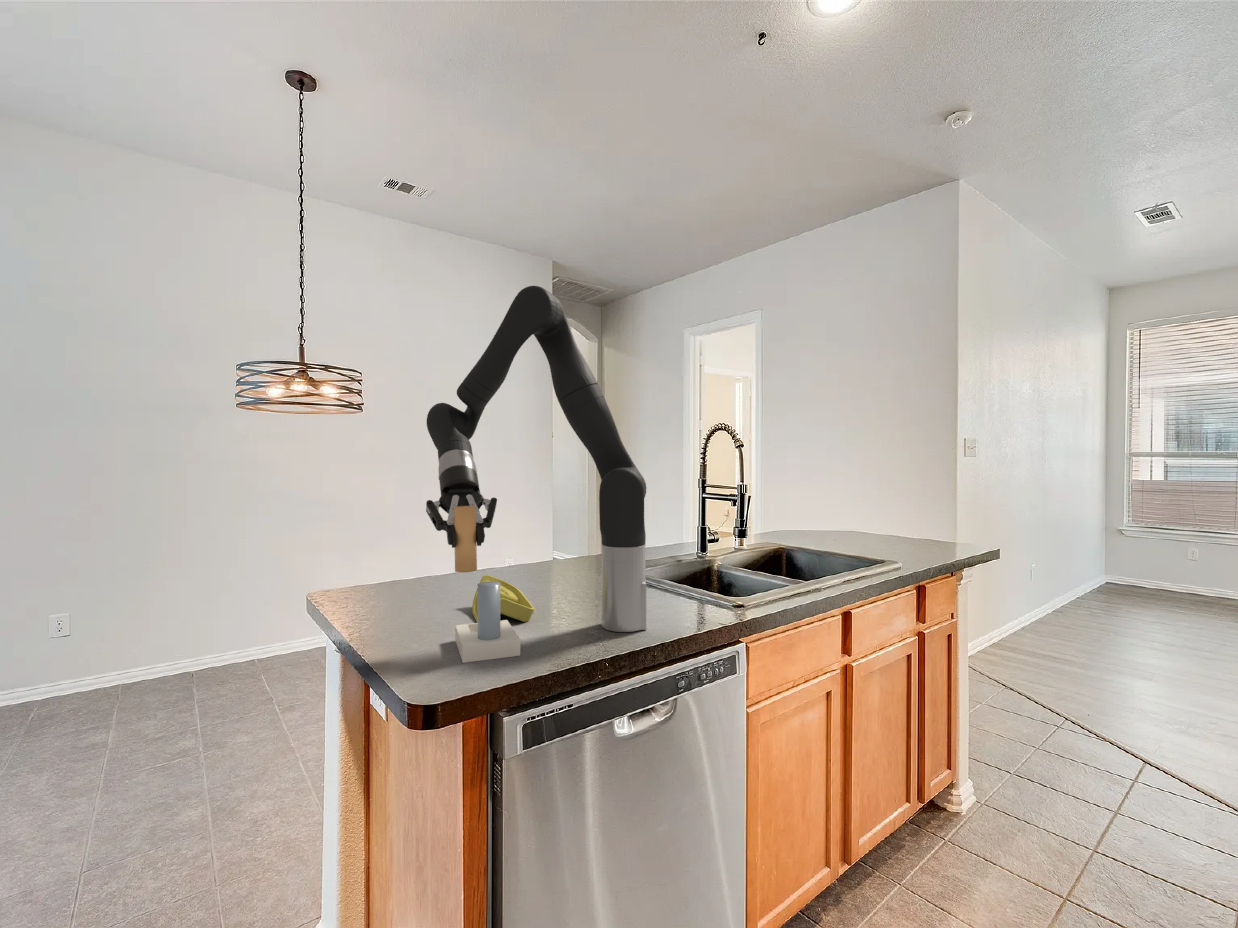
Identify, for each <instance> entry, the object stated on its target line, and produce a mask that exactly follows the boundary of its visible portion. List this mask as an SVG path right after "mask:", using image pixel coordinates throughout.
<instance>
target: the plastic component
mask: <svg viewBox="0 0 1238 928" xmlns="http://www.w3.org/2000/svg"><path fill="white" fill-rule="evenodd" d="M482 582H499V583H500V615H503V616H506V617H509V618H512V619H515V620H517V621H520V622H524V623H527V622H529V621H530V620H531V618H532V616H533V613H534V612H535V609H536V608H535V607H534V605H532V603H531V601H530V600H529V599H528V598H527V596H525V594H524V593H523V592H522V591H521V590H520V589H519V588H517V587H516V586H514V585H513V584H511V583H509V582H506V581H505V580H502V579H500V578H497V577H495V576H492V575H490V574H484V575H483V576H482V577H481V579H480V581H479V583H482ZM471 607H472V609H471V611H472V615H473V617H474V619H475V622H476V623H478V587H476V591H475V594H474V596H473V600H472V606H471Z"/></svg>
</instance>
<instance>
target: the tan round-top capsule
mask: <svg viewBox="0 0 1238 928" xmlns="http://www.w3.org/2000/svg"><path fill="white" fill-rule="evenodd" d="M454 526H455V532H456V541H457V542H456V547H455V548H454V572H455V573H471V572H472V573H473V572H475V571H478V564H477V563H478V559H477V557H478V555H477V554H478V553H477V550H478V549H477V547H478V546H477V541H476V506H456V507H454Z"/></svg>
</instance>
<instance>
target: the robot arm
mask: <svg viewBox="0 0 1238 928" xmlns="http://www.w3.org/2000/svg"><path fill="white" fill-rule="evenodd" d="M532 336H534V337H535V338H536V341H537V342H538V344H539V345H540V347H541V349H542V351H543V353H544V355H545V357H546V360H547V362H548V365H549V369H550V370H549V371H550V376H551V381H552V386H553V391H554V394H555V396H556V399H557V402H558V404H559V406H560V407H561V410H562V412H563V414H564V416H565V419H566V420H567V422H568V424H569V426H570V427H571V428H572V430H573V431H574V433H575V435H577V438H578V439H579V440H580V441H581V443H582V445H583V446H584V447H585V449H586V450H587V451H588V453H589V454H590V456H591V458H592V460H593V462H594V464H595V466H596V469H597V472H598V474H599V477H600V479H601V482H600V485H599V490H598V491H599V495H598V499H599V500H598V501H599V503H598V504H599V505H598V506H599V507H598V510H599V530H600V537H601V539H600V540H601V628H603V629H604V630H607V631H610V632H617V633H618V632H619V633H628V632H629V633H632V632H637V631H642V630H647V581H646V527H645V497H646V494H647V483H646V480H645V478H644V476H643V475H642V474H641V472H640V471H639V469H638V467H637V466H636V464H635V463H634V461H633V460H632V458H631V456H630V455H629V453H628V450H627V449H626V447H625V445H624V444H623V441H622V439H621V436H620V434H619V432H618V431H619V430H618V428H617V426H616V422H615V420H614V418H613V415H612V412H611V410H610V407H609V405H608V403H607V400H606V398H605V396H604V393H603V392H602V390H601V388H600V385H599V382H598V381H597V379H596V378H595V376H594V374H593V372H592V370H591V368H590V366H589V364H588V362H587V361H586V359H585V357H584V356H583V354H582V353H581V350H580V349H579V347H578V345H577V342H576V340H575V338H574V334H573V332H572V329H571V327H570V324H569V321H568V318H567V315H566V312H565V309H564V306H563V305H562V303H561V301H560V299H559V298H558V297H557V296H555V294H553V293H551V292H550V291H548V290H547V289H546V288H544V287H541V286H538V285H529V286H526V287H524V288H522V289H521V290H520V291H519V292H518V293H517V295H516V296H515V297H514V299H513V301H512V302H511V304H510V306H509V308H508V310H507V311H506V313H505V315H504V318H503V319H502V322H501V323H500V325H499V327H498V328H497V330H496V332H495V334H494V335H493V337H492V339H491V341H490V343H489V344H488V346H487V347H486V349H485V351H484V352H483V353H482V355H481V356H480V358H479V359H478V360H477V362H476V363H475V365H474V366H473V368H471V370H470V371H469V372H468V374H467V375H466V377H465V378H464V380H463V381H462V382H461V383H460V385H459V386H458V387H457V390H456V395H457V398H458V399H459V400H460V402H462V403H463V404H464V405H465V406H466V409H465V411H462V410H460V409H458V408H456V407H454V406H453V405H451V404H450V403H449V404H448V403H446V402H439V403H436V404H434V405H433V406H432V407H431V408H430V409H429V411H428V413H427V415H426V427H427V432H428V434H429V436H430V438H431V441H432V442H433V445H434V447H435V449H436V450H437V456H438V457H437V458H438V469H437V470H438V477H437V478H438V480H439V489H440V491H439V492H440V497H439V500H436V501H433V500H431V499H428V500H426V501H425V502H426V505H425V512H426V513H427V516H428V517H429V519H430V521H431V523H432V524H433V526H434V528H435V530H436V531H438V532H441V531H445V532H446V539H447V544H448V546H451V548H452V549H453V548H454V549H455V547H456V542H457V541H456V532H455V526H454V507H456V506H476V545H477V547H481V546H482V545H483V544H482V543H484V542H485V540H486V539H485V538H486V534H485V529H490V528H491V527H492V524H493V520H494V516H495V512H496V509H497V503H498V499H497V497H491V498H490V499H488V498H484V496H483V494H481V491H480V490H481V489H480V484H479V478H478V473H477V472H478V471H477V466H476V465H477V464H476V463H475V460H474V455H473V449H472V444H471V442H470V440H471V438H472V437H473V436H474V434H475V432H476V429H477V427H478V424H479V422H480V420H481V417H482V415H483V413H484V410H485V408H486V406H487V405H488V404H489V402H490V401H491V400H492V398H493V397H494V396H495V395H496V393H497V392H498V391H499V389H500V388H501V386H502V384H503V383H504V381H506V378H507V376H508V373H509V372H510V368H511V365H512V363H513V361H514V358H515V357H516V355H517V353H518V352H519V350H520V349H521V347H522V346H523V345H524V344H525V342H527V340H529V339H530V337H532ZM482 506H484V509H485V511H487V513H486V516H485V517H482V516H481V512H480V509H481V507H482ZM440 508H441V509H442V510H443V511H444V512H445V513H447V514H448V516H447V520H444V518H443V516H442V515H441V513H440Z"/></svg>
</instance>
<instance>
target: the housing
mask: <svg viewBox="0 0 1238 928" xmlns="http://www.w3.org/2000/svg"><path fill="white" fill-rule="evenodd" d="M477 588H478V623H477V622H473V623H472V622H471V623H464V624H455V625H454V627H455V628H454V629H455V630H454V631H455V635H454V637H455V639H454V640H455V643H456V646H457V651H458V653H459V656H460V658H461V662H462V664H465V663H472V662H480V661H487V660H488V661H489V660H495V659H496V660H497V659H504V658H511V657H519V656H521V638H520V636H519V635H518V634H517V632H516V630H515V629H514V628H513V626H512V625H511V623H510V622H509V620H508V619H502V620H501V613H500V583H499V582H482V583H480V582H479V583H477Z"/></svg>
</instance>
